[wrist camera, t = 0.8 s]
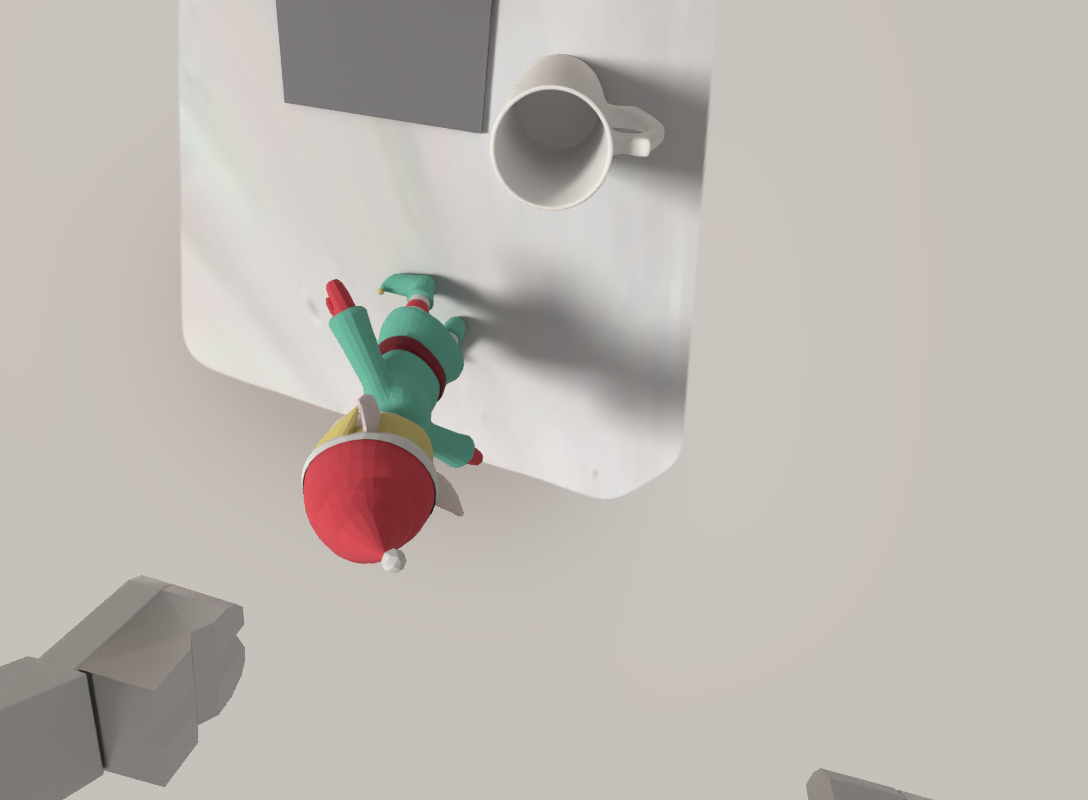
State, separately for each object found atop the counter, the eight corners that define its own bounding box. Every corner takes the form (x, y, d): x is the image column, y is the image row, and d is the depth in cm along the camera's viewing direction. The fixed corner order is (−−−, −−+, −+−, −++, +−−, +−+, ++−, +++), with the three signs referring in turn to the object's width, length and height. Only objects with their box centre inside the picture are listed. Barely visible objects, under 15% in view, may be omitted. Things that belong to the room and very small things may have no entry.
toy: (342, 235, 53) (135, 501, 29) (421, 187, 50) (266, 435, 26) (465, 391, 61) (384, 700, 37) (538, 357, 59) (502, 664, 34)
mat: (286, 101, 47) (284, 102, 47) (272, -69, 41) (269, -70, 41) (481, 132, 48) (481, 133, 47) (494, -32, 42) (494, -32, 42)
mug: (510, 150, 48) (491, 208, 39) (510, 47, 45) (488, 82, 35) (649, 156, 48) (664, 215, 38) (660, 52, 44) (681, 90, 35)
